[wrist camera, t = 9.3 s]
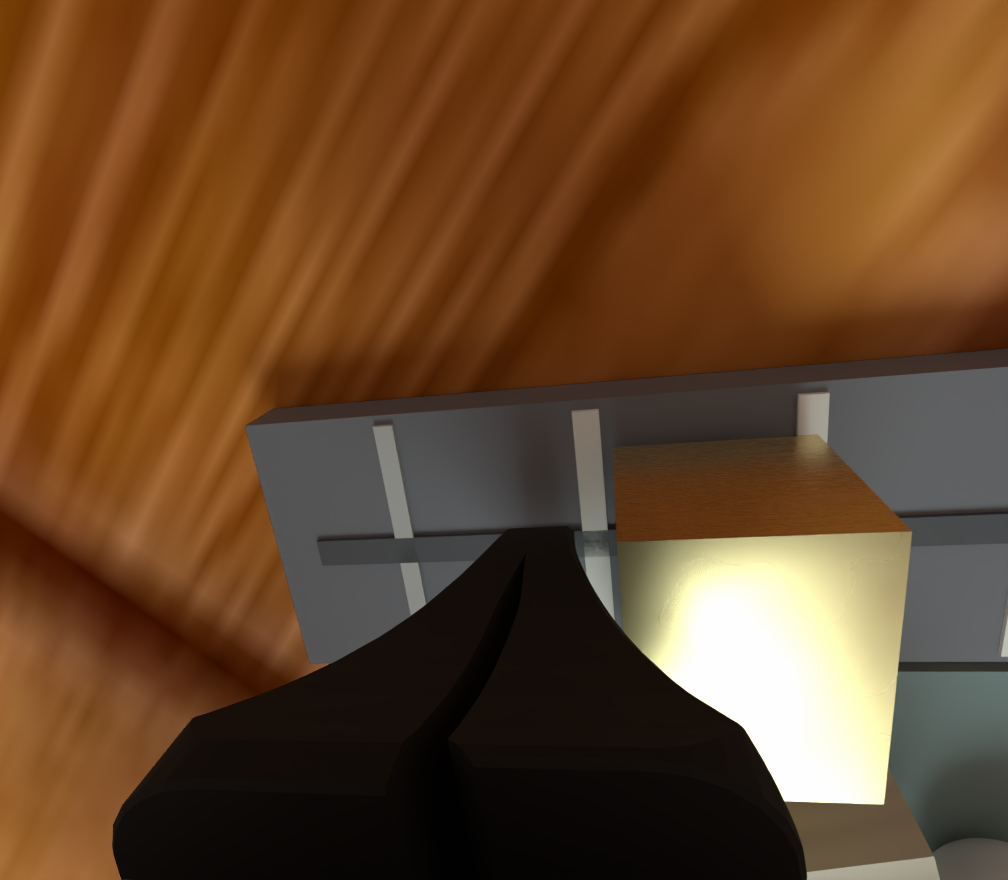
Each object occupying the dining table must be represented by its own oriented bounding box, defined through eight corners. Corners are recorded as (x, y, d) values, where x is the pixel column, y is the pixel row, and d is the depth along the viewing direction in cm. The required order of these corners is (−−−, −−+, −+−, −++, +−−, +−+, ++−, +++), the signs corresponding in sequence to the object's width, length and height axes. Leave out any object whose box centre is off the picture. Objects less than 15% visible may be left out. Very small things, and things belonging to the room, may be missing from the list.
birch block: (882, 813, 15) (974, 1012, 11) (716, 837, 16) (750, 1026, 12) (845, 684, 14) (934, 856, 10) (669, 718, 15) (692, 885, 11)
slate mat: (1048, 920, 16) (1056, 933, 15) (506, 886, 18) (505, 897, 18) (1110, 661, 13) (1121, 672, 13) (467, 663, 16) (465, 671, 15)
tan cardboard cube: (808, 645, 12) (884, 804, 9) (626, 647, 13) (634, 795, 10) (817, 434, 11) (911, 531, 7) (611, 447, 11) (616, 542, 8)
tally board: (1205, 621, 13) (1270, 664, 11) (329, 631, 16) (307, 666, 15) (1291, 325, 11) (1380, 339, 9) (273, 408, 14) (242, 427, 13)
